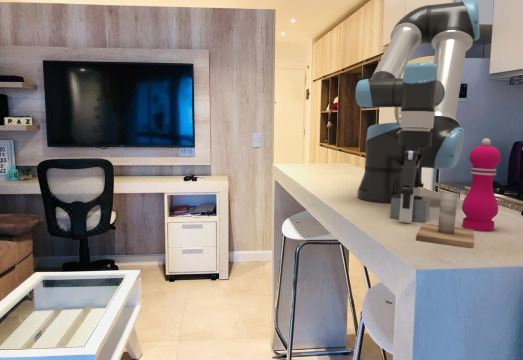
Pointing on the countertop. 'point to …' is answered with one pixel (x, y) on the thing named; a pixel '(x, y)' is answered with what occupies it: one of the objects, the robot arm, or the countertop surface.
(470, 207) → the pepper mill
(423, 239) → the peg on square base
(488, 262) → the countertop surface
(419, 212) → the grey square ring block
